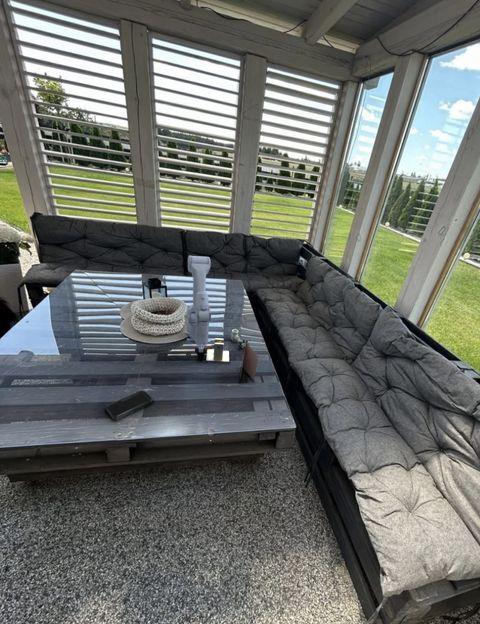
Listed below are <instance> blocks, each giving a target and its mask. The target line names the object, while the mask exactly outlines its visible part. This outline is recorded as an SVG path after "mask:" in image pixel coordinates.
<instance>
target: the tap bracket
mask: <svg viewBox="0 0 480 624" xmlns="http://www.w3.org/2000/svg"><path fill="white" fill-rule="evenodd" d="M220 340H221V342H222V343H215V342H217V341H220ZM224 342H225V339H224V338H218V337H216V338H214V344H213V345H214V348H213V349H208V350H207V352H206V362H214V363H215V362H217V363H230V351H229V350H224V346H225V343H224Z"/></svg>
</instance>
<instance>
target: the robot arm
mask: <svg viewBox="0 0 480 624" xmlns="http://www.w3.org/2000/svg"><path fill="white" fill-rule="evenodd" d="M211 264H212V263H211V258H210V257H209V256H198V255H188V257H187V271H188V273H191V275H192V304H191V305H190V306H189V307H187V309H186V320H187V321H186V324H185V325H186V331H187V332H188V333H189V334H190V335H188V336H189V338H190V339H192V340H195V344H196V346H197V347H195V348H194V352H195V354H196V357H197V360H198V361H204V359H205V355H207V349H204V348H205V347H207V346H208V344H211V339H209V333H210V332H209V331H210V322H211V321H212V312H211V306H210V301H209V294H208V293H207V292H206V290H207V289H206V288H207V287H206V286H207V285H206V284H207V281H206V280H207V275H208V274H209V273H210V272H209V271H210V270H211ZM186 331H185V332H186Z"/></svg>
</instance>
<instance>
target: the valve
mask: <svg viewBox="0 0 480 624" xmlns="http://www.w3.org/2000/svg"><path fill="white" fill-rule="evenodd" d="M239 335H240V330H238V329H236V328H234V329H232V330H231V333H230V340H231V342H234V343H236V342H237V343H238V344H237V345H236V346H237V349H238V351H241V350H242V351H243V346H244V349H245V345H246V343H247V344H248V345H249V346H250V344H249V343H248V342H249V341H248V339H246V340H245V339H241V337H240V336H239Z"/></svg>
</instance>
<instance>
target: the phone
mask: <svg viewBox="0 0 480 624" xmlns="http://www.w3.org/2000/svg"><path fill="white" fill-rule="evenodd" d="M152 403H153V398H152V397H151V396H150V395H149V394H148V393H147V392H146V391H145V390H139V391H137V392H135V393H133V394H130V395H128V396H126V397H123V398H121V399H118V400H116V401H114V402H110V403H109V404H107V405H106V406H104V407H105V411H106V412H107V414H108V415H109V416H110V417H111V419H112V420H113V421H118V420H121V419H123V418H124V417H126V416H129V415H131V414H132V413H134V412H135V413H136V411H139V410H142V409H143V408H146V407H147V406H150V405H151V404H152Z"/></svg>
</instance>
